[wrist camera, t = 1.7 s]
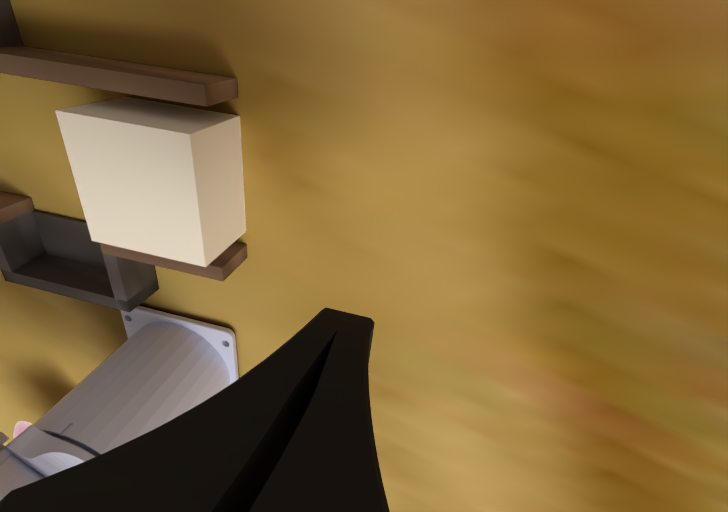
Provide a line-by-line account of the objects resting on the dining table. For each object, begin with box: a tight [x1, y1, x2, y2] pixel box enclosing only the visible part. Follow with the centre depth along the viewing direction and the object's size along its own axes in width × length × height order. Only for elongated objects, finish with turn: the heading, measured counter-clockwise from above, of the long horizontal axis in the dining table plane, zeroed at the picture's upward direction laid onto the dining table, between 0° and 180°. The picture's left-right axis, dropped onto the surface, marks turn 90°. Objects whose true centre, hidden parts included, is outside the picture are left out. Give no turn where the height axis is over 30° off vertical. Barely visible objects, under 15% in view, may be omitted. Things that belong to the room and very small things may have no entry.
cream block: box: [55, 97, 246, 267], centre depth 19 cm, size 6×6×4 cm
